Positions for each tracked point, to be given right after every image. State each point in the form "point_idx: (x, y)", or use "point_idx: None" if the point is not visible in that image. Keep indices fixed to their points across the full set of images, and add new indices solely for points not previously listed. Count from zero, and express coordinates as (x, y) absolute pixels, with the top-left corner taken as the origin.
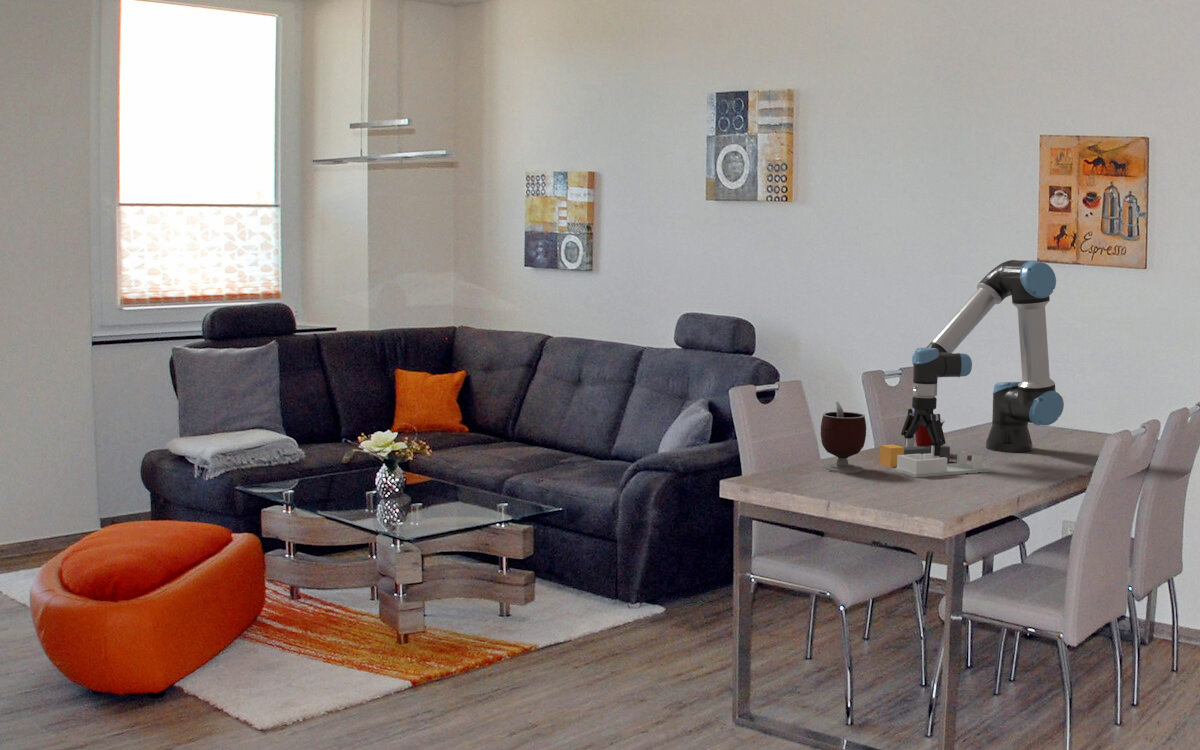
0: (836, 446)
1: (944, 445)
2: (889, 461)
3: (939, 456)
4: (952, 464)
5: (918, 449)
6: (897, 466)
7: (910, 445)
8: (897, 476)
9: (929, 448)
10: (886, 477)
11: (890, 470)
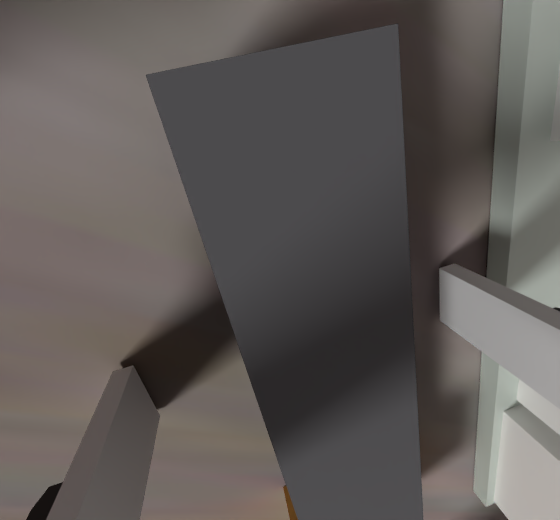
0: None
1: (231, 63)
2: None
3: (520, 294)
4: (545, 186)
5: (418, 477)
6: (504, 508)
7: (114, 516)
8: None
9: (415, 383)
10: None
11: (455, 503)
